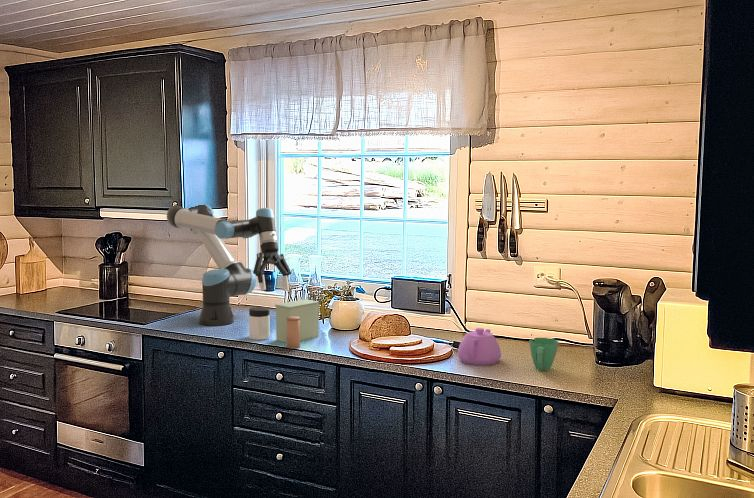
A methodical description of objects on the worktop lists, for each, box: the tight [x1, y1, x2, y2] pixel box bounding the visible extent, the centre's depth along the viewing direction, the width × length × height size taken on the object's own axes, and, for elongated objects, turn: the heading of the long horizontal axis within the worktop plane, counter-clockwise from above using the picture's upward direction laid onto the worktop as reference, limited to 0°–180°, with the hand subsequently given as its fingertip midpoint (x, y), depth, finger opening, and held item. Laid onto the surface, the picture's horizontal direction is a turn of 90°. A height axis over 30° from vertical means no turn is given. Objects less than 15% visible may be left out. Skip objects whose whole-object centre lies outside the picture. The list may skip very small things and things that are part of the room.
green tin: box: [275, 298, 320, 343], centre depth 283 cm, size 8×16×15 cm, turn 139°
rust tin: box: [286, 316, 301, 350], centre depth 268 cm, size 5×5×12 cm
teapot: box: [457, 327, 502, 367], centre depth 252 cm, size 22×16×12 cm
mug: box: [529, 337, 559, 371], centre depth 240 cm, size 15×10×10 cm
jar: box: [248, 306, 271, 341], centre depth 283 cm, size 9×8×12 cm
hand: (275, 290), depth 300 cm, fingers open, 13 cm apart
